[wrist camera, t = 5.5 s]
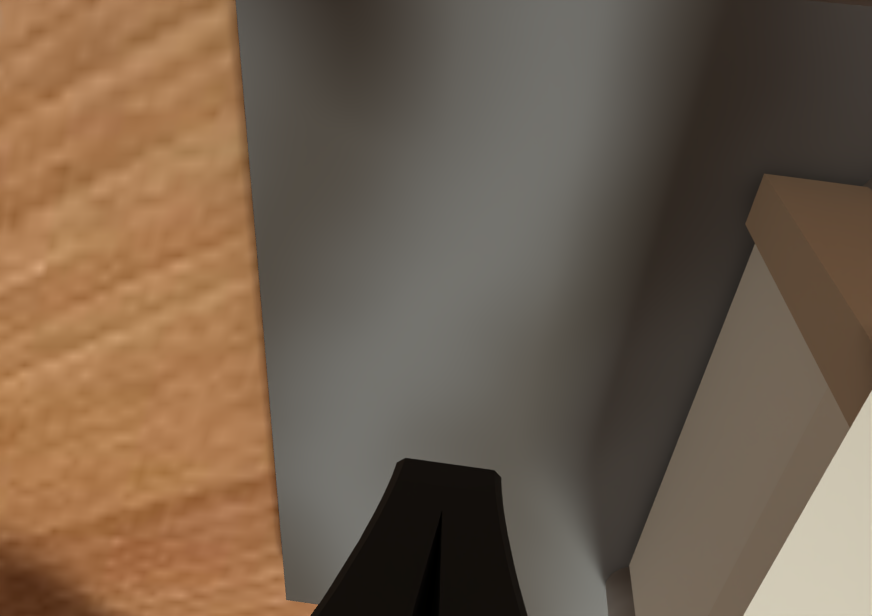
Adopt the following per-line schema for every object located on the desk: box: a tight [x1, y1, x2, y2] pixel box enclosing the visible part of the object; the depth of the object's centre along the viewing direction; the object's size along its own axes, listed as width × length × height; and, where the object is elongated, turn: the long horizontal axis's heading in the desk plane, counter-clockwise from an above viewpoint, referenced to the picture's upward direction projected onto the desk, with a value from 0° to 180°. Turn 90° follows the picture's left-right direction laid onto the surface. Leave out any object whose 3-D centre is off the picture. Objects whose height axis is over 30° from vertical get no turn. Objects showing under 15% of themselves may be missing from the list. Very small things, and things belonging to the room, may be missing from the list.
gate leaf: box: [629, 174, 872, 616], centre depth 14 cm, size 11×2×5 cm, turn 175°
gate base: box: [236, 0, 872, 616], centre depth 15 cm, size 14×18×7 cm
